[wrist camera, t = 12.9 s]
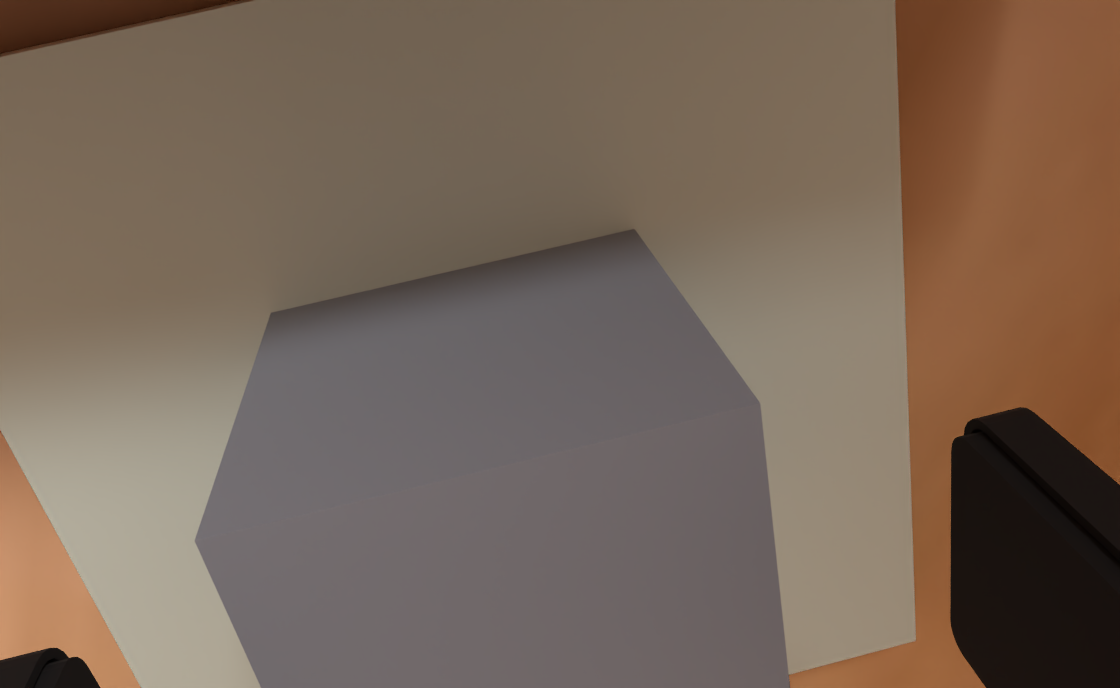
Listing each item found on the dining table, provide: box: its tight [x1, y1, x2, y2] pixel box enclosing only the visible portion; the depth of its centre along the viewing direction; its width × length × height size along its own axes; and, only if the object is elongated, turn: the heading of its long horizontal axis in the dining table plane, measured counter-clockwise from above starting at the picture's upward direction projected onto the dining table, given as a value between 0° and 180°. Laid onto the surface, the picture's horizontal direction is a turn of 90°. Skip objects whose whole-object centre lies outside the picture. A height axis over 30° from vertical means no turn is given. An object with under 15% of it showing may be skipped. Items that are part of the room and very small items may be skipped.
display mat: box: [0, 0, 916, 688], centre depth 15 cm, size 14×14×1 cm
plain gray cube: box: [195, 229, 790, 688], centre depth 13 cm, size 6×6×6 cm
